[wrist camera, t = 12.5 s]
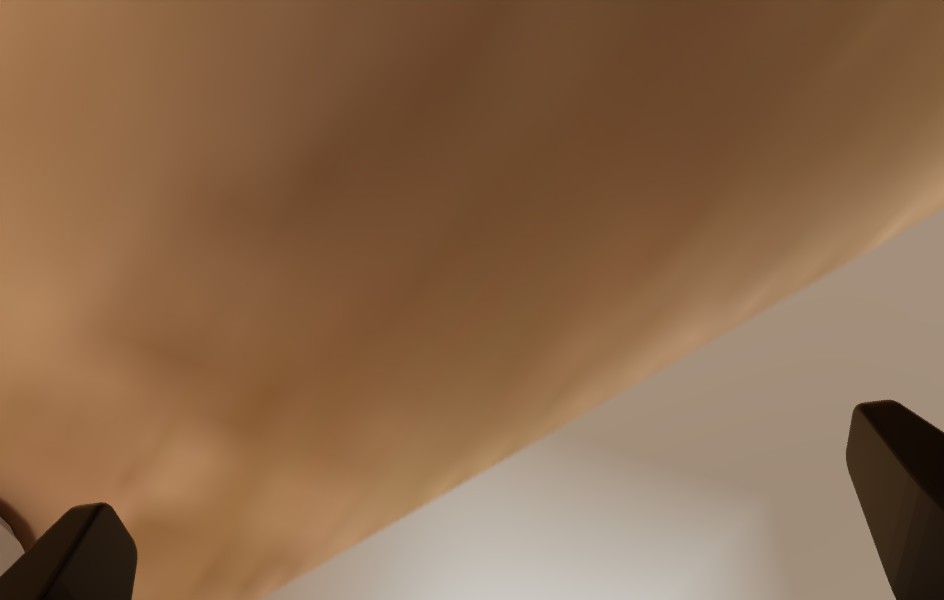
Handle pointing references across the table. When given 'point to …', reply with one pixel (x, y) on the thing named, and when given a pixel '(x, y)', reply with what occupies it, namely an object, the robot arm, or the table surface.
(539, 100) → the table surface
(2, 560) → the can
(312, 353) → the table surface
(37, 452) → the table surface
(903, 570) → the robot arm
